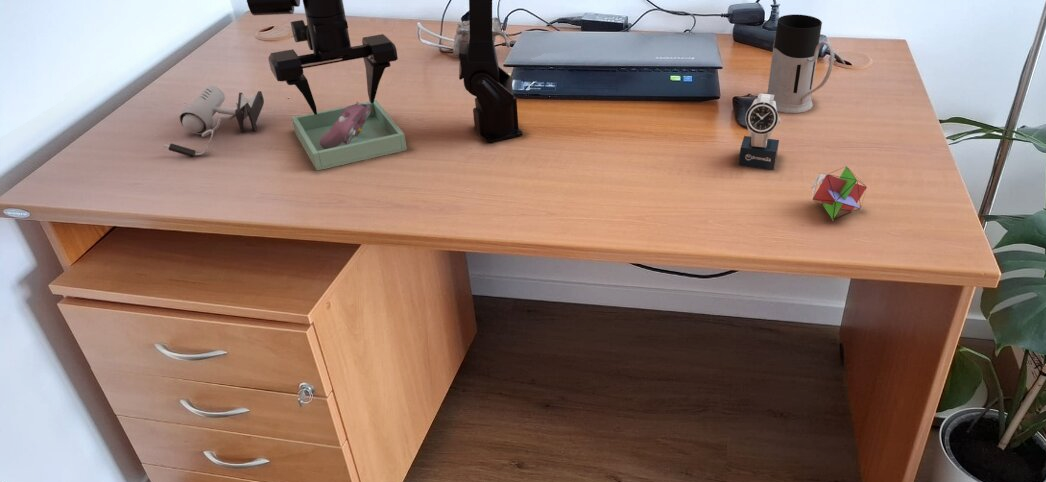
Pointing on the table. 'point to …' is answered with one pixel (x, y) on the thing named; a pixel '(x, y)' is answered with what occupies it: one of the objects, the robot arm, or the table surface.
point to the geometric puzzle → (838, 192)
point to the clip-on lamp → (204, 108)
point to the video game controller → (346, 126)
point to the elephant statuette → (464, 31)
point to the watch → (760, 134)
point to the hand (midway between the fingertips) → (343, 108)
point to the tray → (370, 143)
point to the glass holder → (796, 62)
